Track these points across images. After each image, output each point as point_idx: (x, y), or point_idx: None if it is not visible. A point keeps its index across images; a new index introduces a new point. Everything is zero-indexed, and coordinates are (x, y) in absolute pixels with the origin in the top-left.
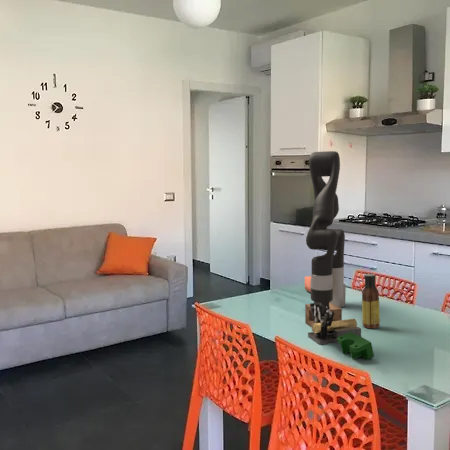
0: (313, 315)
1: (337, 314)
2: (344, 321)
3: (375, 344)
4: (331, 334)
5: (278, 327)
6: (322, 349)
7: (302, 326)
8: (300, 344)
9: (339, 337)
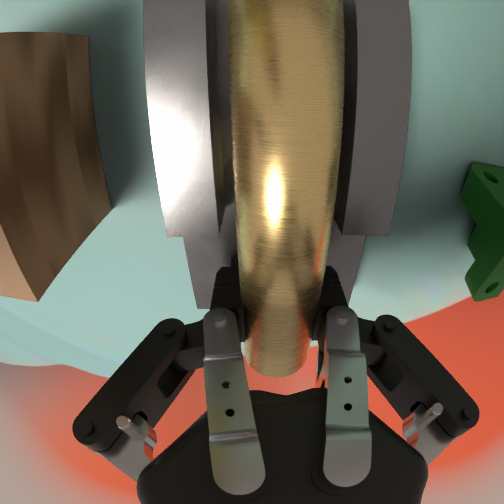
0: (181, 387)
1: (13, 73)
2: (325, 99)
3: (459, 19)
4: None
5: (73, 329)
6: (391, 297)
7: None
8: None
9: (483, 291)
